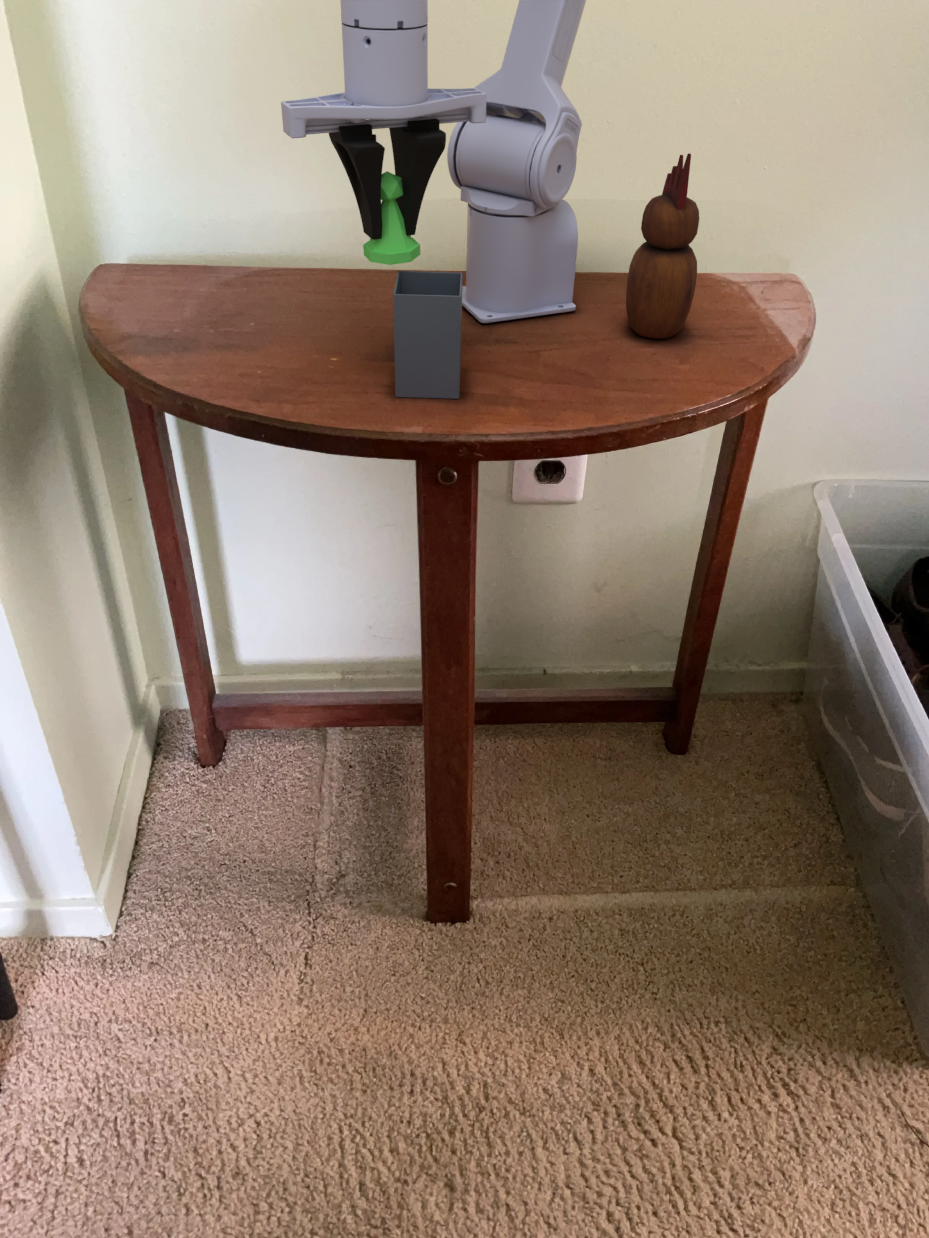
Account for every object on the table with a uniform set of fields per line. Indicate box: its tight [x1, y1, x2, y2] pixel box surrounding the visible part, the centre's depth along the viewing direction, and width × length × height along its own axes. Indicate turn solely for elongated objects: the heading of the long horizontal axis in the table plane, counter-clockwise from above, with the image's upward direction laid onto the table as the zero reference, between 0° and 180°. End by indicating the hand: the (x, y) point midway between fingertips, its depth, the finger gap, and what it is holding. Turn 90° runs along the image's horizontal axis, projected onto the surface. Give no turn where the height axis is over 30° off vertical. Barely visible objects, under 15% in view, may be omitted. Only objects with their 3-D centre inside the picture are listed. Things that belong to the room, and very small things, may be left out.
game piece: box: [362, 171, 421, 266], centre depth 73 cm, size 4×4×6 cm
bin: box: [392, 270, 464, 400], centre depth 75 cm, size 5×5×8 cm
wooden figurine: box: [625, 153, 700, 340], centre depth 82 cm, size 7×6×15 cm
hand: (389, 233), depth 74 cm, fingers closed on game piece, 2 cm apart
